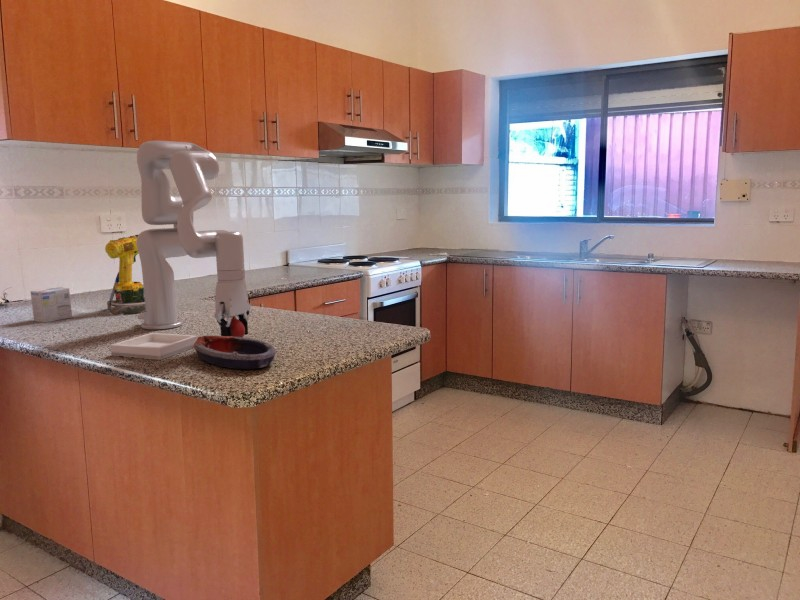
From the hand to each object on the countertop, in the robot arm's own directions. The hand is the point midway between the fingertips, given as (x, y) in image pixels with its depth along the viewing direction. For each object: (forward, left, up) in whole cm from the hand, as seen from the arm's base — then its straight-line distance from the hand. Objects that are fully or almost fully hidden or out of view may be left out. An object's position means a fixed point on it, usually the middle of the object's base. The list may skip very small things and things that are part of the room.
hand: (234, 336), depth 186 cm
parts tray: (-16, -14, -2) cm, 21 cm away
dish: (+11, -17, -2) cm, 20 cm away
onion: (0, 0, -2) cm, 2 cm away
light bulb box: (-85, +15, -2) cm, 86 cm away
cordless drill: (-70, +39, -2) cm, 80 cm away
